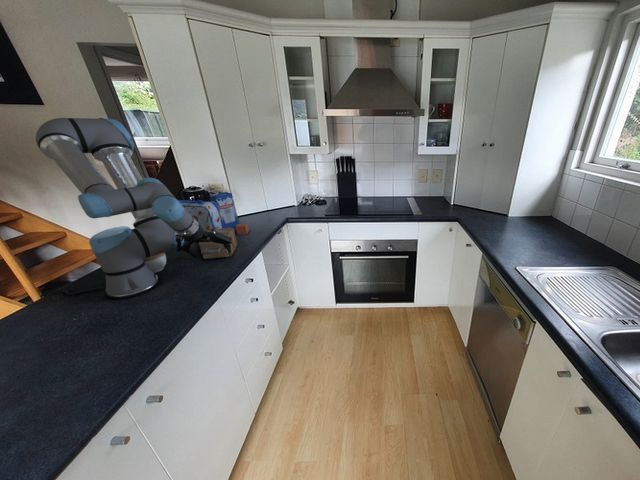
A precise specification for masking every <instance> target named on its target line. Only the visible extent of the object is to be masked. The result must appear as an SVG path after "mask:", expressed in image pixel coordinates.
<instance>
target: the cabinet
mask: <svg viewBox="0 0 640 480" xmlns="http://www.w3.org/2000/svg"><path fill="white" fill-rule="evenodd" d="M211 230H212V229H208V230H207V232H211ZM214 230H216V231H217V232H219V233H222V234H224V235H226V236H229V237H231V238H232V243H231V252H229V251H228V254H229V256H228V257H232V256H233V254H234V252H235V250H236V248H237V247H238V242H237V238H236V237H237V236H236V233H235V229H234V227H231V228H219V229H214ZM207 239H208V238H207ZM199 243H203V242H198V244H199Z"/></svg>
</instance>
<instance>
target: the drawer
mask: <svg viewBox="0 0 640 480" xmlns="http://www.w3.org/2000/svg"><path fill="white" fill-rule="evenodd" d="M198 245H199V249H200V254H201V255H202V258H203V260H208V259H218V258H227V257H228V258H229V257H230V256H229V254H228V250H227V249H226V248H225V247H224V246H223V244H219V243H214V242H205V241H204V242H203V243H199V242H198Z"/></svg>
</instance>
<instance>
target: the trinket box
mask: <svg viewBox="0 0 640 480" xmlns="http://www.w3.org/2000/svg"><path fill="white" fill-rule="evenodd" d="M144 262H145V264H146V266H147V267H148V268H149V269H150V270H151V271H152V272H153V273H154V274H155V273H158V272H161V271H163V270H164V268H165V266H166V264H167V255H166V252H164V253H161V254H157V255H154V256H151V257H147V258H144Z"/></svg>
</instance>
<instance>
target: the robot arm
mask: <svg viewBox="0 0 640 480" xmlns="http://www.w3.org/2000/svg"><path fill="white" fill-rule="evenodd" d="M35 143H36V145H37V147H38V149H39V150H40V151H41V153H42V154H43V155H44V156H46V157H47V158H48V159H50V160H53V161H54V162H55V164H56V165H57V166H58V167H59V168H60V170H61V171H62V172H63V173H64V174H65V176H66V177H67V178H68V179H69V180H70V182H71V183H72V184H73V186H75V187H76V189H77V190H78V191H79V192H80V194H79V195H78V196H77V200H78V203H79V205H80V207H81V209H82V210H83V212H84V214H85V215H86V216H87V217H88V218H90V219H101V218H109V217H114V216H119V215H124V214H129V213H131V215H132V216H133V218H134V222H133V223H132V226H133V228H130V226H128V225H127V226H126V225H120V226H114V227H109V228H107V229H104V230H102V231H99V232H97V233H95V234H94V235H92V236H91V237H90V238H89V240H88V243H89V246H90V248H91V252H92V253H93V254H94V256H95V258H96V260H97V262H98V264H99V266H100V268H101V270H102V272H103V275H105V285H104V286H97V287H92V288H87V289H83V290H79V291H75V292H74V291H73V292H69V290H66V289H55V290H54V289H52V290H48V291H45V292H43V293H42V294H40V296H39V297H40V298H43V297H45V296H46V295H47V294H48V295H49V294H53V293H55V292H54V291H57V290H59V291H57V292H56V293H65V294H66V295H68V296H73V295H79V294H84V293H87V292H92V291H97V290H103V289H105V293H106V295H107V297H108V298H110V299H114V300H115V299H116V300H119V299H121V300H122V299H128V298H133V297H136V296H140V295H143V294H145V293H147V292H149V291H151V290H152V289H154V288H155V287H156V286H157V285H158V284H159V283H160V280H159V277H158V275H157V274H155V273H153V272H152V271H151V270H150V269H149V268H148V267H147V266H146V264H145V262H144V258H147V257H151V256H154V255H157V254H161V253H164V252H165V253H166V252H167V253H168V252H172V251H173V250H176V251H177V252H178V253H179V252H185V253H186V254H188V255H190V256H191V257H193V258H194V259H197V258H198V252H197V250H195V249H194V248H193V247H192V246H193V245H194V243H196V244H197V243H199V242H204V241H205V242H214V243H219V244H223V246H224V247H225V248H226V249H227V250H228V251H229V252H231V243H232V238H231V237H229V236H226V235H224V234H222V233H219V232H217V231H216V230H214V229H212V230H211V232H207V231H205V230H204V229H203V227H202V226H201V225H200V224H199V223H198V222H197V221H196V220H195V219H194V218H193V217H192V216H191V215H190V214H189V213H188V211H187V210H186V209H185V208H184V207H183V206H182V204H181V203H180V202H179V201H178V200H179V199H177V198H176V197H175V196H174V194H172V192H171V191H170V190H169V189H168V187H167V186H166V185H165V184H163V183H162V181H160V180H159V179H157V178H154V177H144V178H143V177H142V175H141V174H140V172H139V170H138V168H137V167H136V165H135V162H134V161H133V160H132V156H133V153H134V152H133V151H134V149H135V144H134V141H133V139H132V136H131V134H130V133H129V131H128V130H127V128H126V127H125V126H124V125H123V124H122V123H121V122H120V121H119V120H116V119H113V118H104V117H98V118H93V117H92V118H91V117H90V118H86V117H81V118H80V117H57V118H52V119H48V120H47V121H46V122H44V123H42V124H41V125H40V126H39V128H38V129H37V131H36V133H35ZM86 154H91V155H92V157H93V159H94V160H96V161H97V162H101V163H102V165H103V166H104V168H105V170H106V171H107V173H108V175H109V177H110V178H111V180H112V182H113V183H114V185H115V187H114V186H113V185H112V184H111V182H110V181H109V180H108V179H107V178H106V177H105V176H104V175H103V174H102V173H101V171H100V170H99V169H98V168H97V167H96V165H95V164H94V163H93V162H92V161H91V160H90V158H88V157H87V156H86ZM207 238H208V239H207ZM60 290H61V291H60Z"/></svg>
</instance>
